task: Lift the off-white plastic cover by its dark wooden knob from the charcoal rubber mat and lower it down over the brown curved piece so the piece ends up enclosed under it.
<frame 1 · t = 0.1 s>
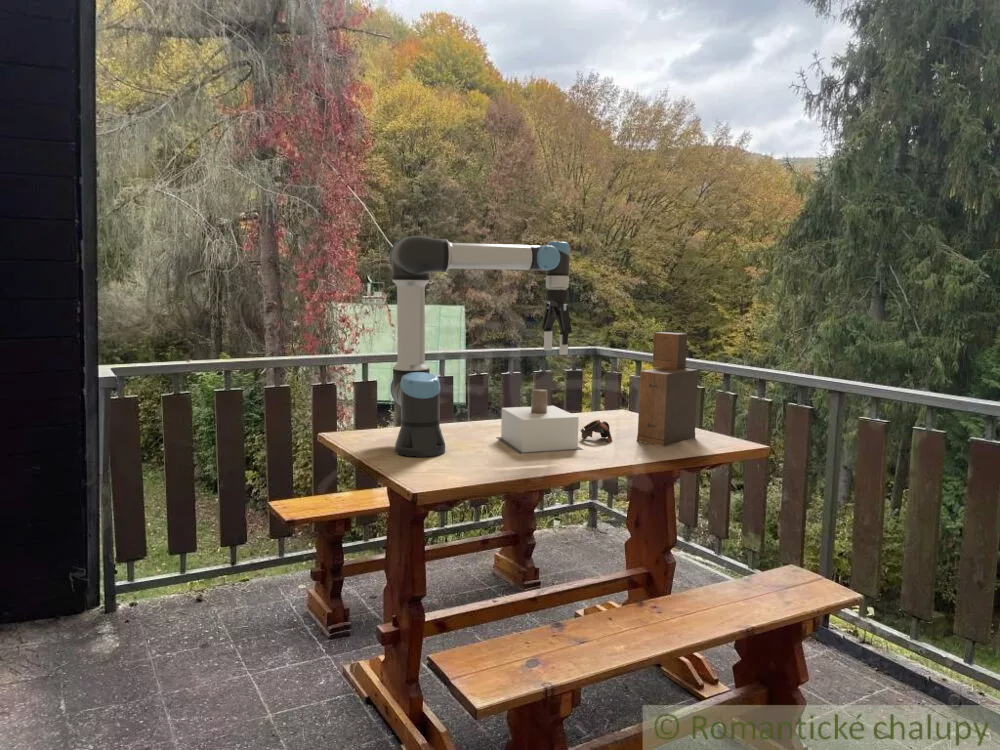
hand: (555, 352, 246), 28 cm above the table, tool pointing down, fingers open, 13 cm apart
brown curved piece: (598, 442, 240), on the table
cover: (538, 443, 233), point 1 cm above the table, touching mat
mat: (538, 445, 233), on the table
wooden block stack: (665, 439, 245), on the table
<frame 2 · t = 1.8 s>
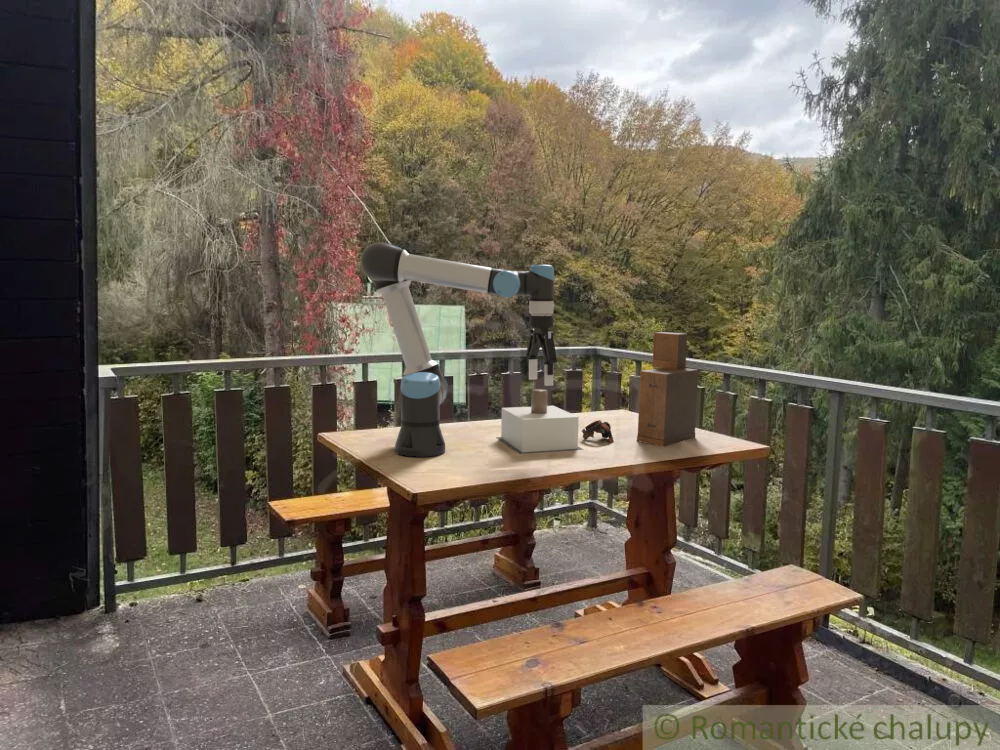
hand: (540, 382, 230), 20 cm above the table, tool pointing down, fingers open, 13 cm apart
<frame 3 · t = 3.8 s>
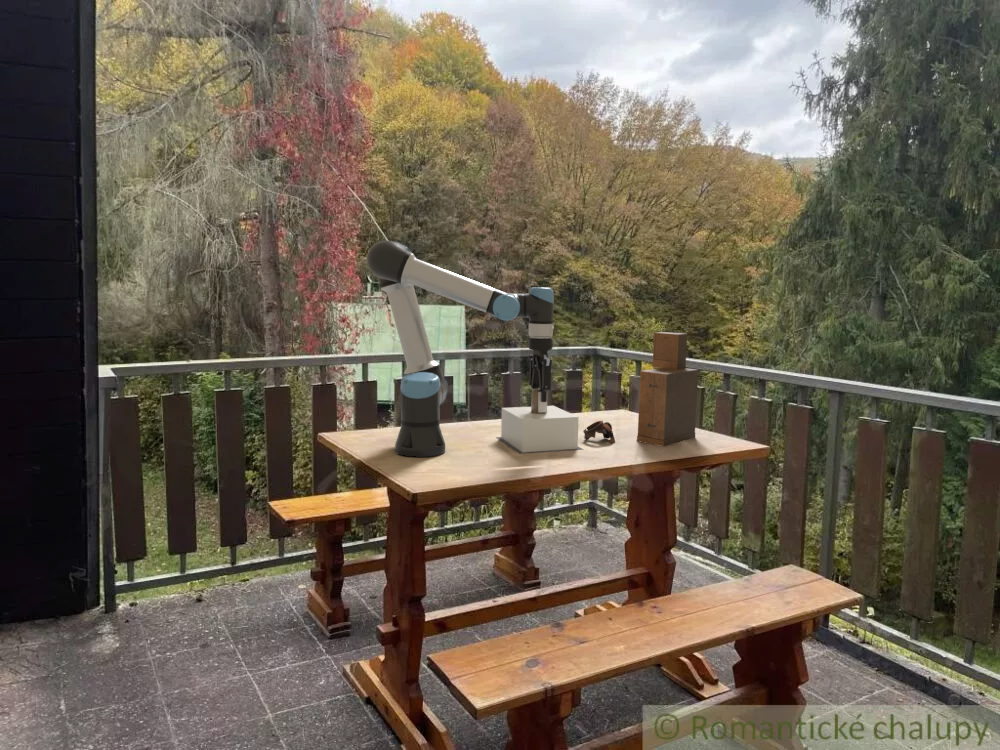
hand: (539, 410, 232), 11 cm above the table, tool pointing down, fingers closed on cover, 5 cm apart
cover: (538, 443, 233), point 1 cm above the table, touching gripper, mat
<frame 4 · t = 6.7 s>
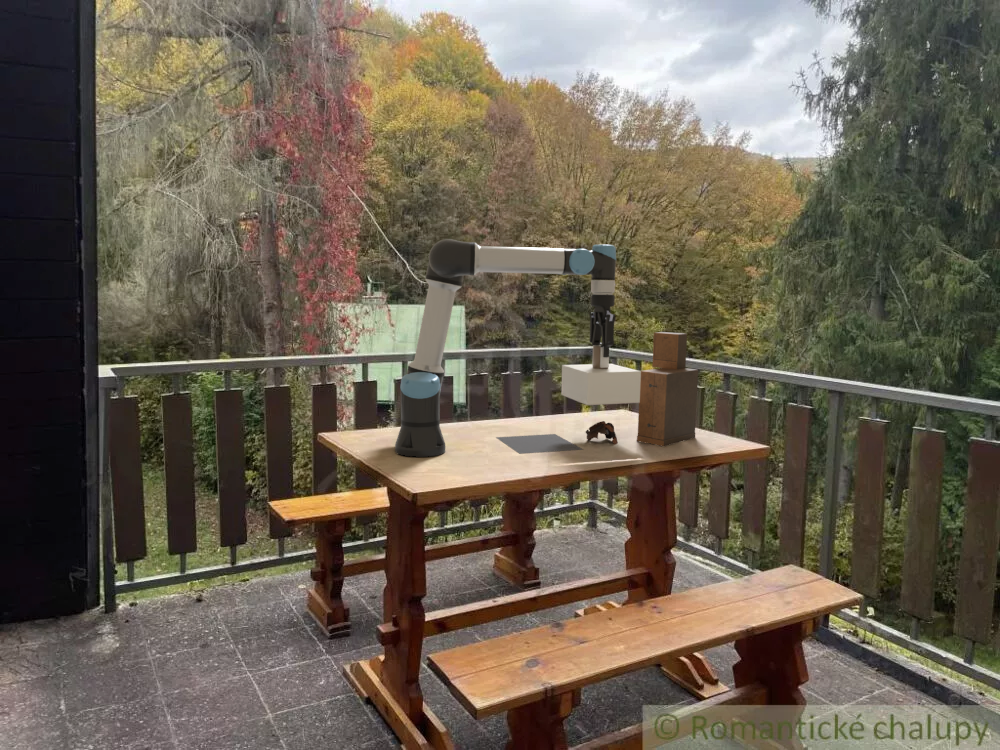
hand: (600, 366, 236), 25 cm above the table, tool pointing down, fingers closed on cover, 5 cm apart
brown curved piece: (603, 443, 238), on the table
cover: (599, 398, 238), point 14 cm above the table, touching gripper
everything else where it was.
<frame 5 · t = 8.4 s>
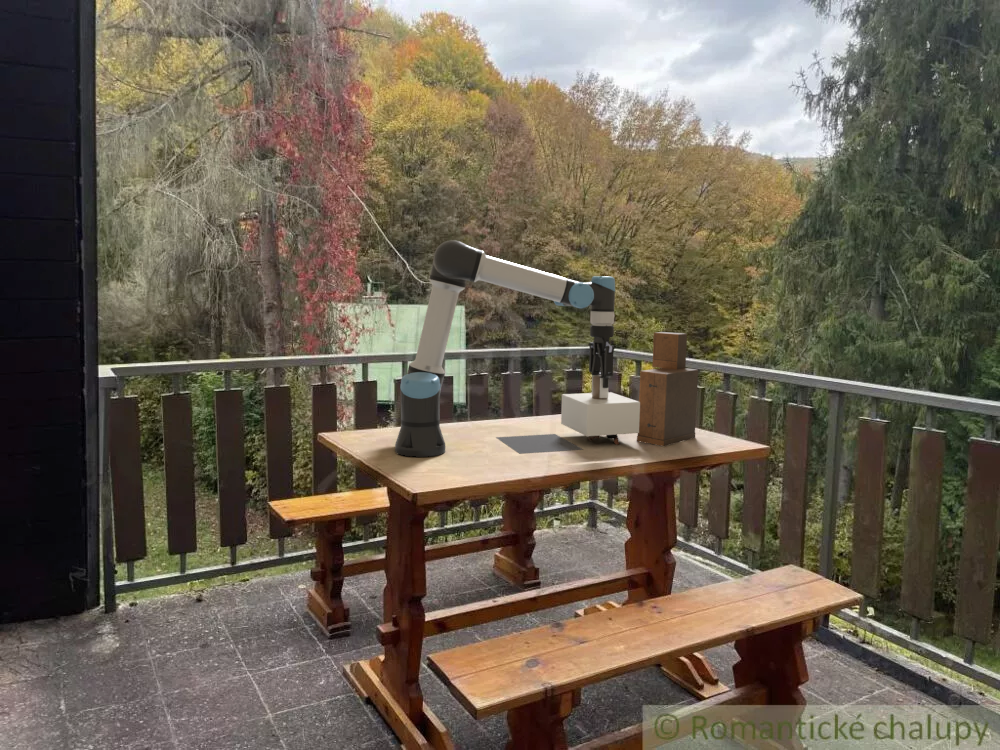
hand: (599, 396, 238), 15 cm above the table, tool pointing down, fingers closed on cover, 5 cm apart
cover: (598, 428, 239), point 4 cm above the table, touching gripper
when the fingers open (12 cm above the table, at t = 9.7 s): cover drops 1 cm, on the table.
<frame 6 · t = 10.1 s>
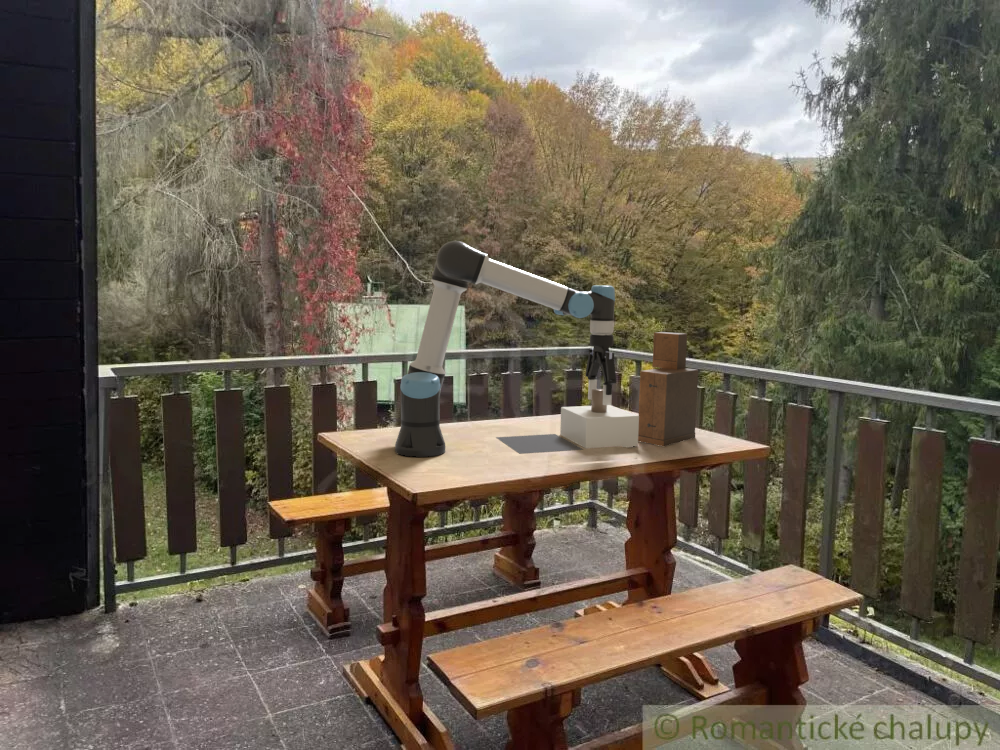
hand: (599, 402, 238), 13 cm above the table, tool pointing down, fingers open, 10 cm apart
cover: (597, 441, 240), on the table
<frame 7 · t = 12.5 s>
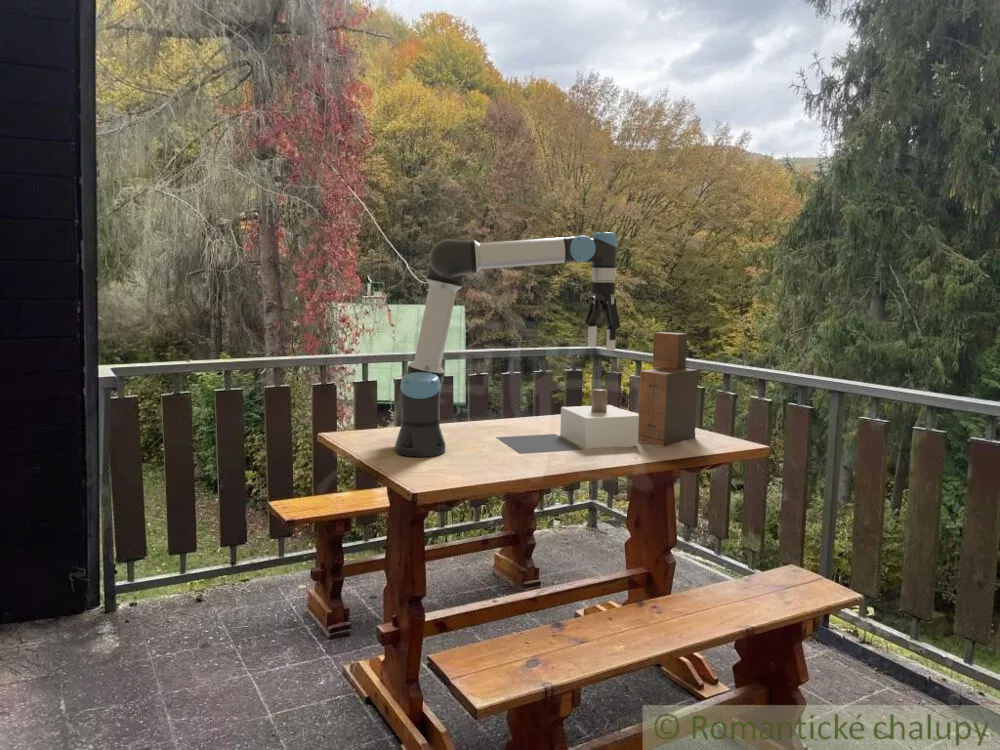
hand: (601, 348, 236), 31 cm above the table, tool pointing down, fingers open, 13 cm apart
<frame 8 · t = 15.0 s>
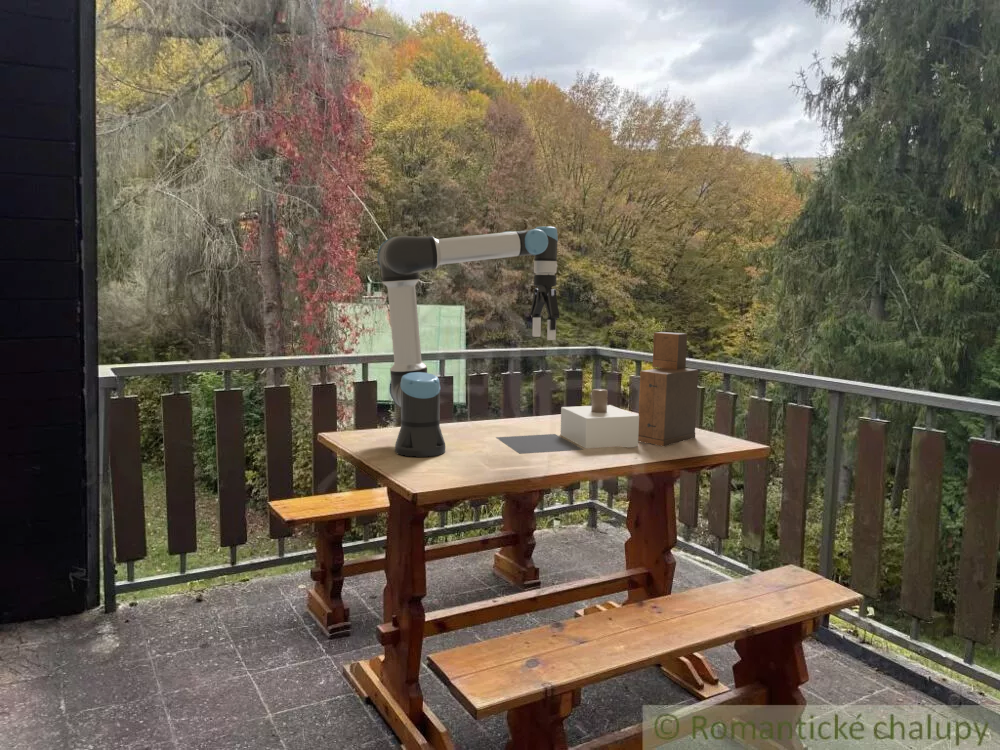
hand: (543, 338, 245), 33 cm above the table, tool pointing down, fingers open, 13 cm apart
at the end: cover 5.0 cm from the brown curved piece (horizontally); cover on the table; cover tilted 0° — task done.
